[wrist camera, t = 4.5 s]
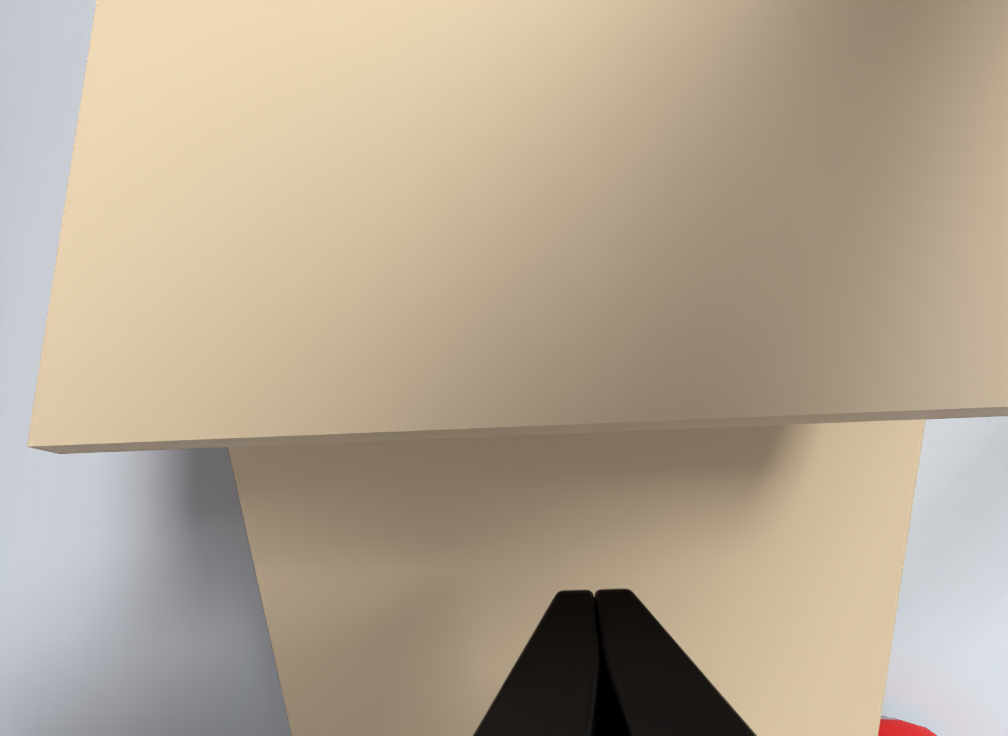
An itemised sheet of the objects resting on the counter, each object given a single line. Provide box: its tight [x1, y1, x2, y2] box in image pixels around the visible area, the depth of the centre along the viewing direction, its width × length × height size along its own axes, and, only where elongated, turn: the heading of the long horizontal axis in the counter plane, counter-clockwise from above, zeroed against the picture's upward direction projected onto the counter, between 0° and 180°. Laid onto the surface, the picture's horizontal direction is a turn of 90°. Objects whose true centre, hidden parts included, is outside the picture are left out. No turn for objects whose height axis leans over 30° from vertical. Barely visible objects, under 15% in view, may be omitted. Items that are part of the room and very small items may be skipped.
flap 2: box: [228, 419, 925, 736], centre depth 16 cm, size 14×9×1 cm, turn 94°
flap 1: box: [27, 0, 1008, 454], centre depth 10 cm, size 14×9×1 cm
